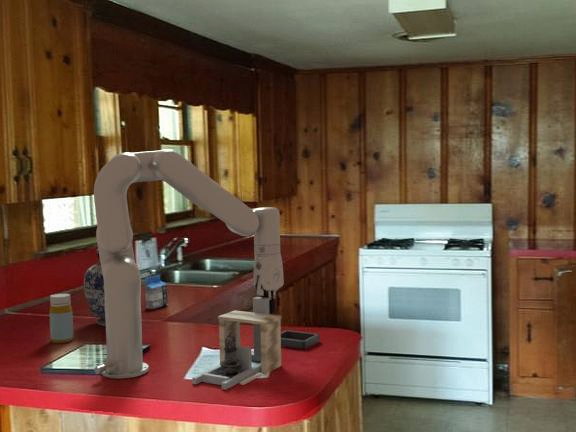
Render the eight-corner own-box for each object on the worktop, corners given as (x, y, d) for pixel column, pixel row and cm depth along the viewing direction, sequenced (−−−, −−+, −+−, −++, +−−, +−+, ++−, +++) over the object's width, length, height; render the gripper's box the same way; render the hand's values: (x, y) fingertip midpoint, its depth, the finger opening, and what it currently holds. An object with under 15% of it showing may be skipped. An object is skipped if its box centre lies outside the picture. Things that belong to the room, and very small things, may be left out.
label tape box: (153, 309, 267) (152, 278, 266) (145, 308, 269) (144, 277, 268) (168, 305, 275) (167, 275, 274) (160, 304, 277) (159, 274, 276)
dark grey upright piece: (230, 371, 187) (229, 328, 186) (246, 375, 183) (245, 331, 182) (215, 376, 182) (214, 332, 181) (232, 380, 179) (231, 335, 178)
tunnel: (266, 374, 184) (265, 322, 183) (219, 366, 191) (217, 316, 190) (282, 365, 191) (281, 315, 190) (235, 358, 199) (234, 310, 198)
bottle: (67, 336, 227) (65, 292, 226) (77, 340, 222) (75, 295, 221) (47, 341, 222) (44, 295, 221) (56, 344, 217) (54, 298, 216)
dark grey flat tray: (304, 349, 207) (304, 341, 206) (270, 345, 212) (270, 337, 212) (319, 341, 215) (319, 334, 215) (286, 337, 221) (286, 330, 221)
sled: (225, 389, 172) (223, 319, 170) (192, 383, 177) (190, 315, 175) (280, 360, 195) (279, 298, 194) (249, 356, 201) (248, 295, 199)
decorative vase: (76, 320, 250) (74, 244, 247) (124, 314, 260) (123, 241, 258) (96, 332, 232) (94, 250, 230) (147, 325, 243) (146, 246, 241)
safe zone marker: (243, 384, 175) (243, 383, 175) (198, 377, 182) (198, 375, 182) (262, 375, 183) (261, 373, 183) (218, 367, 190) (218, 366, 190)
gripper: (265, 254, 189) (266, 319, 191) (291, 247, 202) (292, 308, 204) (242, 252, 193) (243, 316, 195) (269, 246, 206) (270, 306, 208)
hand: (268, 312), depth 199 cm, fingers closed
